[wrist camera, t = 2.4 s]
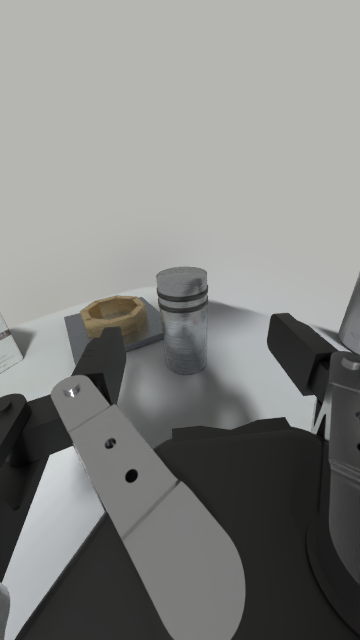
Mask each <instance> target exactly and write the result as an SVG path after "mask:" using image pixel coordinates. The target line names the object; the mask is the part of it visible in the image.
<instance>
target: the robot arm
mask: <svg viewBox="0 0 360 640" xmlns="http://www.w3.org/2000/svg"><path fill="white" fill-rule="evenodd" d="M338 335H339V339H340V340H341V341H342V343H343V344H344V345H345V346H346V347H348V348H349V349H351V350H352V351H354V352H355V353H357V354H355V353H351V352H346V351H338V350H337V349H336V348H335V347H333V346H332V345H331V344H330V343H329V342H327V341H326V340H325V339H324V338H323V337H321V336H320V335H319V334H318V333H317V332H315V331H314V330H313V329H312V328H311V327H309V326H308V325H306V324H304V323H302V322H300V321H297V320H296V319H295V318H294V317H292V316H291V315H290V314H289V313H280V314H273V315H272V316H271V319H270V325H269V331H268V337H267V345H268V348H269V350H270V352H271V353H272V354H273V356H274V357H275V358H276V360H277V361H278V362H279V364H280V365H281V366H282V368H283V369H284V370H285V372H286V373H287V375H288V376H289V377H290V379H291V380H292V381H293V383H294V384H295V385H296V387H297V388H298V389H299V391H300V392H301V394H302V395H303V396H308V395H315V396H316V397H317V398H316V401H315V404H314V412H313V419H312V427H311V432H309V431H306V430H303V429H299V428H295V427H290V425H289V423H288V422H287V420H286V418H285V417H281V418H272V419H262V420H256V421H254V422H251V423H249V424H246V425H243V426H241V427H238V428H236V429H232V430H227V429H220V428H212V427H204V426H196V427H186V428H176V429H172V434H173V438H172V439H170V440H167V441H165V442H163V443H162V444H160V445H158V446H157V447H156V448H154V449H153V450H152V448H151V447H150V446H149V445H148V443H147V442H146V441H145V440H144V438H143V437H142V436H141V435H140V434H139V432H138V431H137V430H136V429H135V427H134V426H133V425H132V424H131V422H130V421H129V420H128V419H127V418H126V416H125V415H124V414H123V413H122V411H121V410H120V409H119V408H118V406H117V401H118V396H119V391H120V387H121V382H122V377H123V373H124V368H125V363H126V352H125V347H124V342H123V337H122V332H121V328H120V326H116V327H105V328H104V329H103V332H102V334H101V336H100V337H97V338H94V339H93V340H91V341H90V342H89V343H88V344H87V346H86V348H85V350H84V352H83V354H82V356H81V358H80V360H79V362H78V364H77V365H76V367H75V369H74V371H73V373H72V375H71V377H68V378H66V379H64V380H62V381H61V382H59V383H58V384H57V385H56V386H55V387H54V388H53V390H52V392H51V394H50V395H47V396H44V397H41V398H38V399H35V400H32V401H29V402H27V400H26V398H25V397H24V396H23V395H21V394H10V395H6V396H3V397H1V398H0V640H4V636H5V629H6V624H7V620H8V616H9V611H10V595H9V592H8V589H7V588H6V587H5V586H4V585H3V584H2V581H3V578H4V575H5V573H6V570H7V567H8V565H9V562H10V559H11V557H12V554H13V551H14V549H15V546H16V543H17V541H18V538H19V535H20V533H21V530H22V527H23V525H24V522H25V519H26V517H27V514H28V511H29V509H30V506H31V503H32V501H33V498H34V495H35V493H36V490H37V487H38V485H39V482H40V479H41V477H42V474H43V471H44V469H45V466H46V463H47V461H48V458H49V455H51V454H53V453H56V452H58V451H61V450H63V449H66V448H68V447H71V446H74V449H75V451H76V453H77V455H78V457H79V459H80V461H81V463H82V465H83V467H84V469H85V471H86V473H87V475H88V477H89V480H90V482H91V484H92V486H93V488H94V490H95V492H96V494H97V496H98V499H99V501H100V503H101V505H102V507H103V509H104V511H105V513H104V514H103V516H102V517H101V518H100V520H99V521H98V523H97V524H96V525H95V527H94V528H93V530H92V531H91V532H90V534H89V535H88V536H87V538H86V539H85V541H84V542H83V543H82V545H81V546H80V548H79V549H78V550H77V552H76V553H75V555H74V556H73V557H72V559H71V560H70V562H69V563H68V564H67V566H66V567H65V569H64V570H63V571H62V573H61V574H60V576H59V577H58V578H57V580H56V581H55V583H54V584H53V585H52V587H51V588H50V589H49V591H48V592H47V594H46V595H45V596H44V598H43V599H42V601H41V602H40V603H39V605H38V606H37V608H36V609H35V610H34V612H33V613H32V615H31V616H30V617H29V619H28V620H27V621H26V623H25V624H24V626H23V627H22V629H21V630H20V632H19V633H18V635H17V637H16V638H15V640H360V273H359V277H358V279H357V282H356V285H355V287H354V290H353V293H352V296H351V299H350V302H349V305H348V307H347V310H346V313H345V316H344V319H343V322H342V324H341V327H340V330H339V334H338ZM358 354H359V355H358Z"/></svg>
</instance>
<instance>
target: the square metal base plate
mask: <svg viewBox="0 0 360 640" xmlns="http://www.w3.org/2000/svg"><path fill="white" fill-rule="evenodd" d="M64 319H65V323H66V328H67V332H68V336H69V341H70V345H71V349H72V354H73V358H74V362H75V365H77V364H78V362H79V360H80V358H81V356H82V354H83V352H84V350H85V348H86V346H87V344H88V343H89V342H90V341H91V340H93V339H94V338H97V337H100V336H101V334H102V332H103V329H104V328H105V327H116V326H120V328H121V332H122V337H123V342H124V347H125V352H127V351H130V350H133V349H135V348H138V347H141V346H144V345H147V344H149V343H152V342H155V341H158V340H161V339H163V330H162V321H161V314H160V313H159V312H158V311H157V310H156V309H155V308H154V307H153V306H151V305H150V304H149V303H148V302H147V301H146V300H145V299H144V298H142V297H140V298H138V297H132V296H113V297H109V298H105V299H101V300H97V301H94V302H93V303H91V304H90V305H88V306H87V307H86V308H84V309H83V310H81V311H80V313H79V314H75V315H71V316H67V317H64Z"/></svg>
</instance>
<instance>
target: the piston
mask: <svg viewBox="0 0 360 640" xmlns="http://www.w3.org/2000/svg"><path fill="white" fill-rule="evenodd" d="M156 278H157V294H158V296H159V298H158V304H159V307H160V313H161V321H162V330H163V339H164V348H165V356H166V364H167V367H168V368H169V369H170V370H171V371H172V372H174V373H177V374H180V375H191V374H195V373H198V372H200V371H201V370H202V369H203V368H204V367H205V366H206V363H207V304H208V296H207V292H208V285H207V272H206V271H205V270H203V269H201V268H195V267H175V268H170V269H166V270H163V271H161V272H159V273H158V274H157V275H156Z"/></svg>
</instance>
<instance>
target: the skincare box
mask: <svg viewBox="0 0 360 640" xmlns="http://www.w3.org/2000/svg"><path fill="white" fill-rule="evenodd" d="M22 359H23V356H22V354H21V352H20V350H19V349H18V347H17V345H16V343H15V341H14V339H13V337H12V335H11V333H10V331H9V329H8V327H7V325H6V323H5V321H4V319H3V317H2V315H1V313H0V373H1V372H3V371H5V370H6V369H8V368H9V367H11V366H13V365H14V364H16V363H18V362H19V361H21V360H22Z"/></svg>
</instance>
